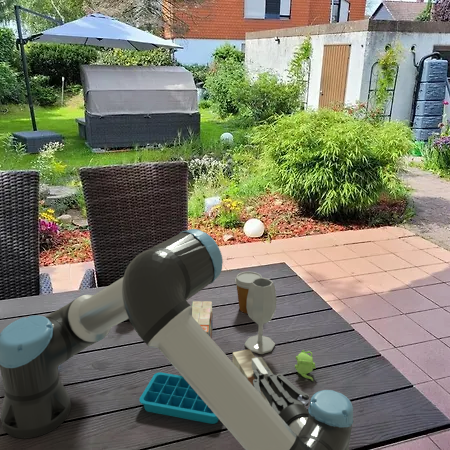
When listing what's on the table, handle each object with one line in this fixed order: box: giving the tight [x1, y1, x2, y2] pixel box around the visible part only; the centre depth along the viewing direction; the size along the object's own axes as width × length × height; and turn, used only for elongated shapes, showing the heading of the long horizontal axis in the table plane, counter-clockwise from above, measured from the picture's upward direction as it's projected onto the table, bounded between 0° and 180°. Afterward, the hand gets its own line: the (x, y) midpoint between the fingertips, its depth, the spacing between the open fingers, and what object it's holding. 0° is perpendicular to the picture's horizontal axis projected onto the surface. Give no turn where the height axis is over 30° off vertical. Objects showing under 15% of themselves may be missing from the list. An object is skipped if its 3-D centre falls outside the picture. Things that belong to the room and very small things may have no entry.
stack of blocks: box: [191, 300, 214, 338], centre depth 130 cm, size 21×6×12 cm, turn 178°
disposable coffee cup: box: [234, 271, 263, 314], centre depth 151 cm, size 10×10×12 cm
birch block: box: [231, 348, 261, 390], centre depth 117 cm, size 5×5×11 cm
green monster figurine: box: [294, 349, 316, 382], centre depth 120 cm, size 6×5×6 cm
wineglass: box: [244, 276, 278, 355], centre depth 129 cm, size 9×9×21 cm
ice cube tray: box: [138, 371, 220, 425], centre depth 109 cm, size 12×20×3 cm, turn 76°
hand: (254, 362), depth 113 cm, fingers closed
